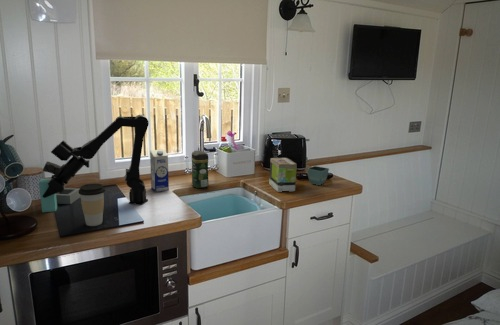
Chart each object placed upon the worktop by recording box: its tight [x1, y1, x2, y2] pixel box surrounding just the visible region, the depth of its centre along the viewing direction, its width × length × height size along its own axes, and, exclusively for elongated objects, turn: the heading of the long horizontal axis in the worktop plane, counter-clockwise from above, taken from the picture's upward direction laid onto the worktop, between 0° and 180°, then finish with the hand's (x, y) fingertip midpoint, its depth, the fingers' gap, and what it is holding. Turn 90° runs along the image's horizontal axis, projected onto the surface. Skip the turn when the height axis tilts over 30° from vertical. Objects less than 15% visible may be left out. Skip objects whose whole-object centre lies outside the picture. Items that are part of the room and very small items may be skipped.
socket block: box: [56, 187, 81, 205], centre depth 169 cm, size 10×10×4 cm
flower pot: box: [307, 165, 330, 186], centre depth 204 cm, size 9×9×9 cm
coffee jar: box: [191, 149, 209, 189], centre depth 194 cm, size 10×8×19 cm
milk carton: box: [149, 148, 170, 193], centre depth 186 cm, size 7×7×20 cm
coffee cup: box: [79, 183, 106, 227], centre depth 144 cm, size 9×9×15 cm
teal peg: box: [38, 178, 58, 213], centre depth 156 cm, size 5×5×13 cm
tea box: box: [268, 157, 298, 193], centre depth 196 cm, size 15×10×15 cm
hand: (44, 195), depth 156 cm, fingers closed on teal peg, 5 cm apart
